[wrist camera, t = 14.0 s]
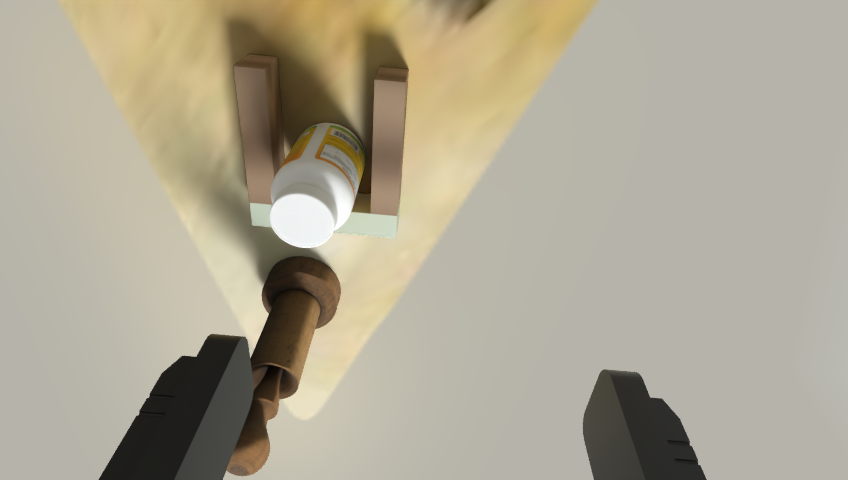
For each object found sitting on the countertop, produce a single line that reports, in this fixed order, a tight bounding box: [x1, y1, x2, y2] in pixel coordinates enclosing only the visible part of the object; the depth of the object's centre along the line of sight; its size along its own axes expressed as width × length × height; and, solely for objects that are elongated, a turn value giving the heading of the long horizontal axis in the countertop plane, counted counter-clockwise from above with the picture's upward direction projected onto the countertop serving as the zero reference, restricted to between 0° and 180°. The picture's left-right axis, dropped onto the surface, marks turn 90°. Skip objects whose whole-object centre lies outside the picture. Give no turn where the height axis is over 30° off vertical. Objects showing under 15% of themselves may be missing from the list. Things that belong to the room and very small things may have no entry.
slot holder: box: [233, 54, 409, 238], centre depth 38 cm, size 12×11×3 cm
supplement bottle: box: [269, 123, 365, 248], centre depth 36 cm, size 5×5×10 cm
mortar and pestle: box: [227, 257, 341, 476], centre depth 39 cm, size 7×6×18 cm
